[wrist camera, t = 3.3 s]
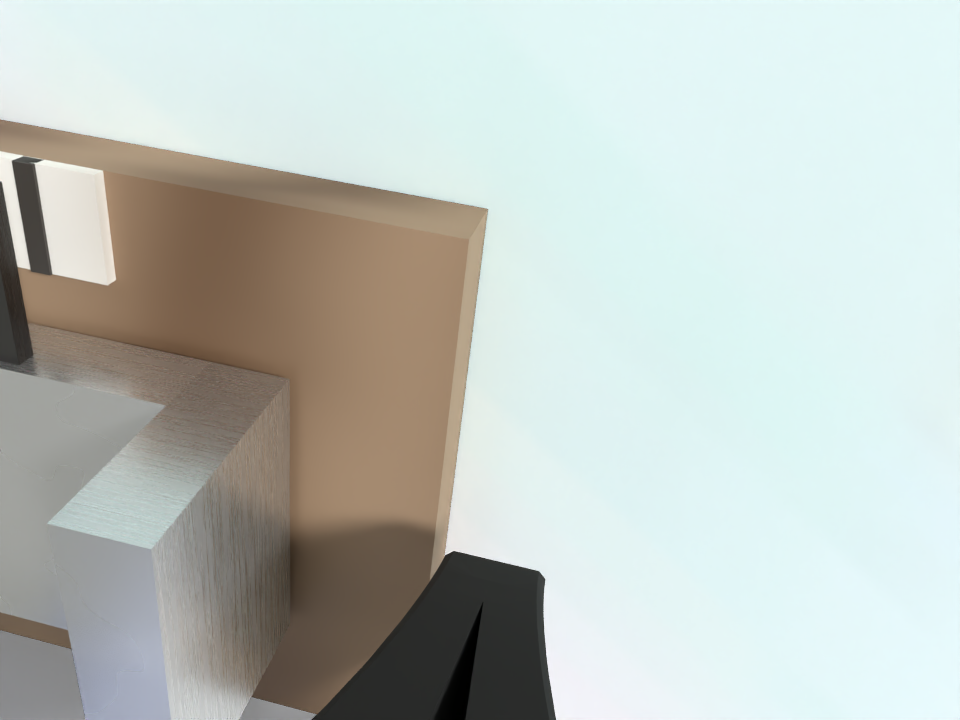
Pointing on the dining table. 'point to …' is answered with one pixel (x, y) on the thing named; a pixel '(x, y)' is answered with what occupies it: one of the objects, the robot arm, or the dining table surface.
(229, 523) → the brushed steel block
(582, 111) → the dining table surface
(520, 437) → the dining table surface
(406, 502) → the gauge frame
